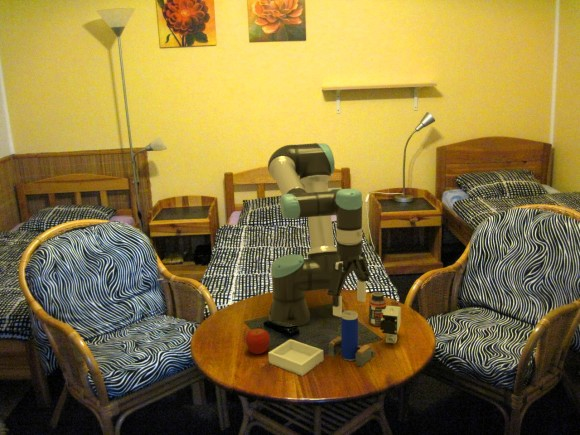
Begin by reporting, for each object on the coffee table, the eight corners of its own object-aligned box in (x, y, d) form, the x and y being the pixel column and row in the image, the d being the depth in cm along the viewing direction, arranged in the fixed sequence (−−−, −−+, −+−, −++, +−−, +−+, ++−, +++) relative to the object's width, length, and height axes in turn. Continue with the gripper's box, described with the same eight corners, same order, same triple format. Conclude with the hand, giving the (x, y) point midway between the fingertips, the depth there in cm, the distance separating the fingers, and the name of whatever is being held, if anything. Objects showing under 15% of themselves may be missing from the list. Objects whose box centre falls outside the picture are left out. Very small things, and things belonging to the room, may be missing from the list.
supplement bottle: (374, 328, 191) (375, 298, 188) (365, 321, 196) (365, 292, 193) (389, 324, 193) (389, 295, 190) (379, 318, 198) (380, 289, 196)
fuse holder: (328, 355, 173) (328, 342, 172) (342, 345, 179) (342, 332, 178) (361, 367, 166) (361, 353, 165) (374, 356, 172) (374, 343, 171)
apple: (275, 351, 177) (274, 329, 175) (256, 360, 172) (255, 337, 170) (260, 343, 183) (259, 322, 181) (241, 351, 178) (240, 329, 176)
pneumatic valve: (401, 334, 186) (401, 301, 183) (395, 350, 176) (396, 315, 173) (384, 332, 188) (385, 299, 185) (378, 347, 177) (379, 313, 174)
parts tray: (268, 363, 170) (268, 352, 169) (290, 349, 178) (290, 338, 178) (302, 376, 162) (301, 365, 161) (323, 360, 171) (323, 350, 170)
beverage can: (360, 355, 173) (360, 311, 169) (354, 362, 169) (354, 318, 165) (344, 352, 175) (344, 308, 172) (339, 359, 171) (338, 315, 167)
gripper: (336, 254, 151) (337, 325, 156) (381, 233, 169) (380, 297, 175) (314, 250, 155) (316, 319, 160) (360, 230, 174) (360, 292, 179)
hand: (349, 308), depth 168 cm, fingers open, 13 cm apart
